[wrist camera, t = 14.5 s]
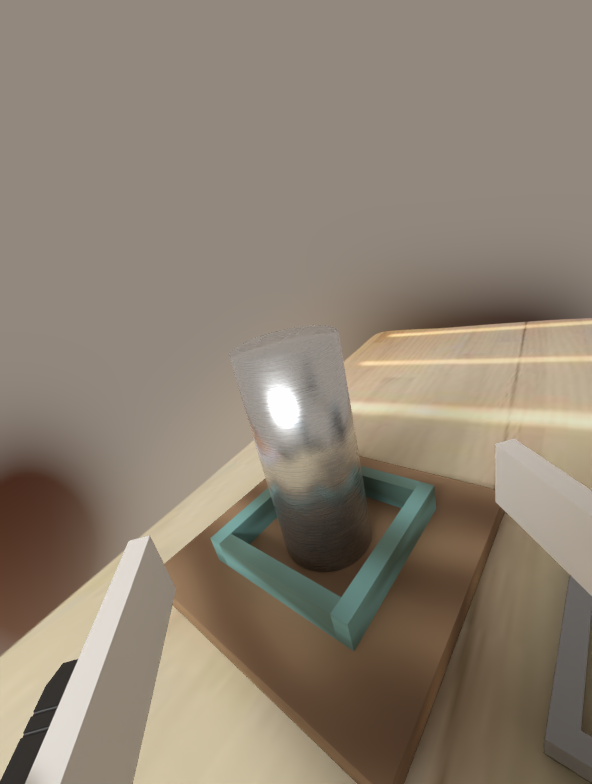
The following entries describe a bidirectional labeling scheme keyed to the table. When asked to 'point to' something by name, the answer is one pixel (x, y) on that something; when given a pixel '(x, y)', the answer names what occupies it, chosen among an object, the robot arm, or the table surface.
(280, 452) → the billet
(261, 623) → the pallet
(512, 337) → the table surface
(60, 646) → the table surface
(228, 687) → the table surface
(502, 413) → the table surface
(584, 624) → the frame
